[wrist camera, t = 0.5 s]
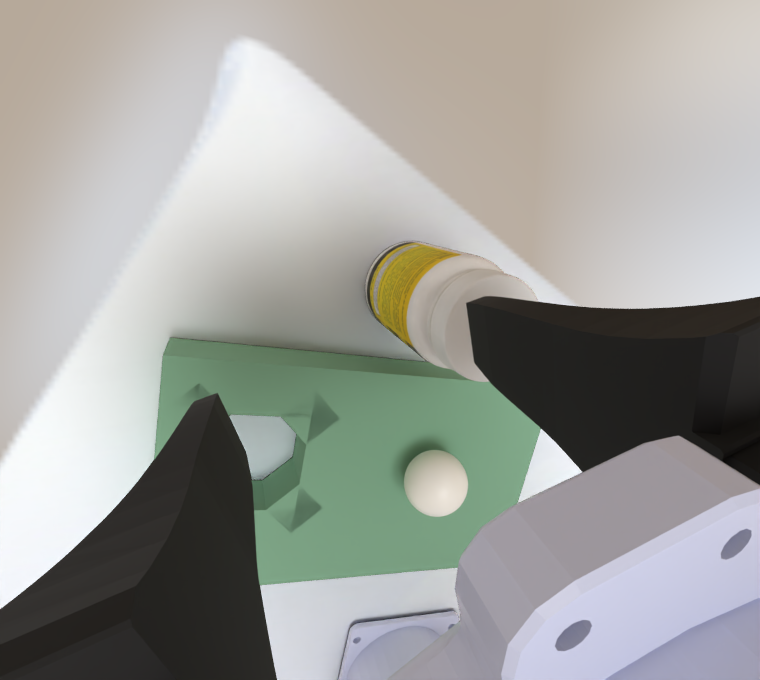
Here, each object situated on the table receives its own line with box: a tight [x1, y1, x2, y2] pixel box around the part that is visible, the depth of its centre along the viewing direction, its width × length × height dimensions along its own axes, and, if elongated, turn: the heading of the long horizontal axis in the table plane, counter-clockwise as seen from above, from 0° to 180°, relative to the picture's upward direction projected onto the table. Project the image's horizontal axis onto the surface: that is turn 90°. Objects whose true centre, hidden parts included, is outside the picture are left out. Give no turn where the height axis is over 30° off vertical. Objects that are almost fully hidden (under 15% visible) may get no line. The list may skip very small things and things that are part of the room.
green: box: [154, 338, 541, 585], centre depth 24 cm, size 12×20×2 cm, turn 78°
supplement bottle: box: [365, 241, 539, 382], centre depth 19 cm, size 5×5×8 cm
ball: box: [404, 450, 468, 517], centre depth 22 cm, size 3×3×3 cm
